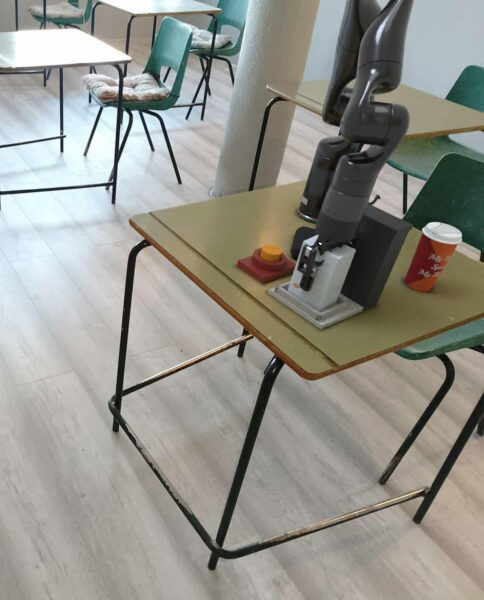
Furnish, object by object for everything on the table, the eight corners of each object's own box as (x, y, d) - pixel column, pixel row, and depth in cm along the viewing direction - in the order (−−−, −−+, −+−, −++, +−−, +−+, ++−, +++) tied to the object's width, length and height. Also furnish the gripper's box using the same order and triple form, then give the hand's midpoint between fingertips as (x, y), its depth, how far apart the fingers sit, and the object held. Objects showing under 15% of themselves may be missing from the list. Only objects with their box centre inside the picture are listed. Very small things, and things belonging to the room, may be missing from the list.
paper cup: (419, 297, 123) (447, 240, 115) (391, 278, 129) (416, 223, 121) (444, 290, 126) (473, 235, 118) (416, 272, 132) (441, 218, 124)
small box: (335, 304, 117) (357, 249, 109) (318, 314, 114) (340, 259, 106) (302, 285, 122) (320, 232, 114) (284, 295, 118) (302, 240, 111)
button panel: (270, 255, 134) (273, 242, 132) (296, 271, 128) (300, 258, 126) (236, 266, 129) (239, 253, 127) (262, 284, 123) (266, 270, 121)
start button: (269, 250, 129) (271, 242, 128) (284, 259, 126) (286, 251, 125) (255, 255, 127) (257, 247, 126) (270, 264, 124) (272, 256, 123)
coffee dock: (322, 271, 129) (350, 195, 118) (377, 305, 120) (413, 224, 109) (267, 292, 121) (291, 211, 110) (321, 329, 111) (354, 245, 100)
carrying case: (335, 271, 130) (338, 243, 141) (339, 260, 128) (342, 232, 139) (287, 259, 133) (294, 233, 144) (291, 248, 131) (298, 222, 142)
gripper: (334, 227, 100) (307, 303, 110) (383, 212, 107) (353, 285, 116) (301, 209, 105) (277, 284, 115) (349, 196, 112) (323, 267, 121)
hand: (316, 284), depth 116 cm, fingers closed on small box, 6 cm apart
